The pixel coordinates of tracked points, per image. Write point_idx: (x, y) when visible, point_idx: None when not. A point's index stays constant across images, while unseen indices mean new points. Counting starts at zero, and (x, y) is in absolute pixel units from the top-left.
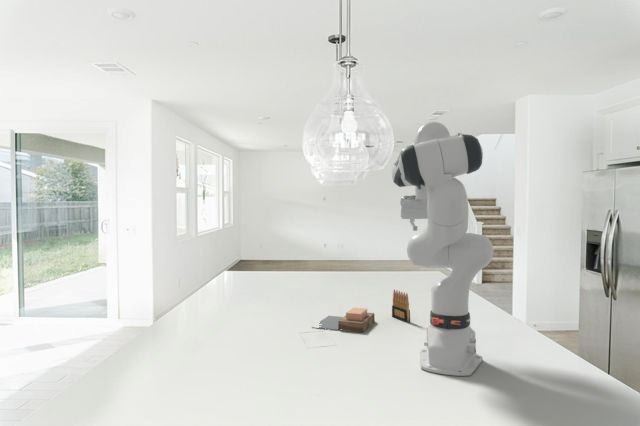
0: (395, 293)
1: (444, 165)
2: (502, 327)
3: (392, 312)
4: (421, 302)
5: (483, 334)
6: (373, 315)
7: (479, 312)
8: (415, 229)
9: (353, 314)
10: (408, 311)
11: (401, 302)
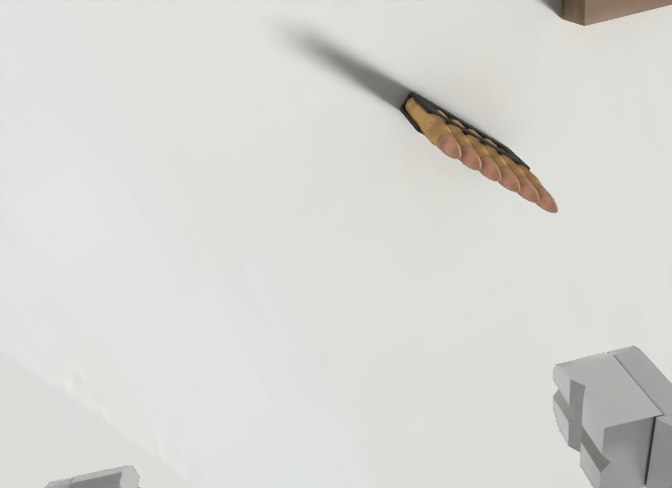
0: (539, 200)
1: None
2: (20, 253)
3: (513, 153)
4: (461, 410)
5: (27, 105)
6: (580, 4)
7: (202, 398)
8: (590, 366)
9: None
10: (419, 119)
11: (476, 146)
